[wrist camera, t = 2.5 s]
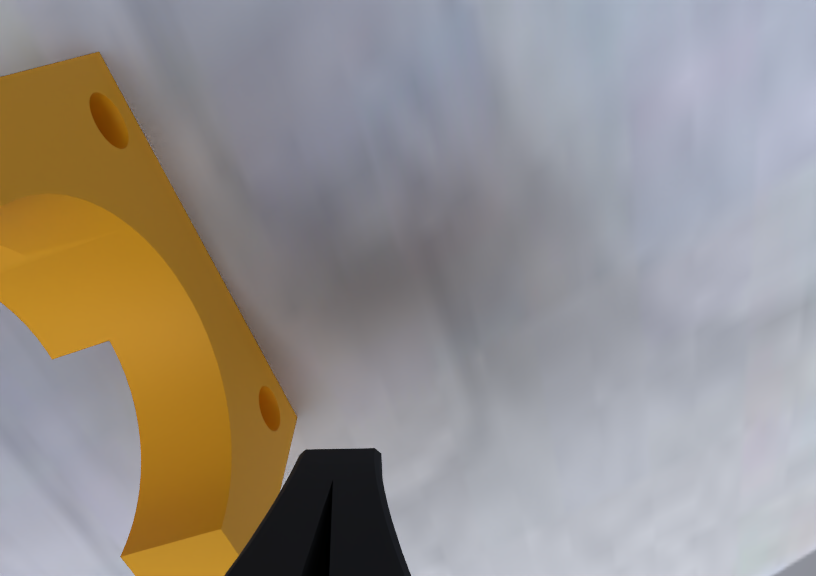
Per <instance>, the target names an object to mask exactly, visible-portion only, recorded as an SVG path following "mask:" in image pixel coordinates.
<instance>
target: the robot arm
mask: <svg viewBox="0 0 816 576" xmlns="http://www.w3.org/2000/svg"><path fill="white" fill-rule="evenodd" d="M224 576H411V574H410V572H409V569H408V567H407V564H406V561H405V558H404V556H403V553H402V550H401V547H400V544H399V541H398V538H397V535H396V532H395V528H394V525H393V522H392V519H391V515H390V512H389V508H388V504H387V499H386V495H385V491H384V485H383V479H382V460H381V453H380V452H379V451H377V450H376V449H375V448H368V449H312V450H305V451H304V452H303V453H301V454H300V456H299V458H298V460H297V462H296V464H295V466H294V468H293V469H292V471H291V473H290V475H289V477H288V479H287V481H286V482H285V484H284V486H283V488H282V489H281V491H280V493H279V494H278V496H277V498H276V499H275V501H274V503H273V504H272V506H271V508H270V509H269V511H268V513H267V514H266V516H265V517H264V519H263V520H262V522H261V523H260V525H259V526H258V528H257V529H256V531H255V532H254V534H253V536H252V537H251V539H250V540H249V542H248V543H247V545H246V546H245V548H244V549H243V550H242V552H241V553H240V555H239V556H238V557H237V559H236V560H235V562H234V563H233V564H232V566H231V567H230V568H229V570H228V571H227V572H226V574H225V575H224Z"/></svg>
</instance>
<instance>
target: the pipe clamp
mask: <svg viewBox="0 0 816 576" xmlns="http://www.w3.org/2000/svg"><path fill="white" fill-rule="evenodd" d="M0 302H1V303H2V304H4V305H5V306H6V307H7V308H8V309H10V310H11V311H12V312H13V313H14V314H15V315H16V316H17V317H18V318H19V319H20V320H21V321H22V322H23V323H24V324H26V325H27V327H28V328H29V329H30V330H31V331H32V332H33V334H34V335H35V336H36V337H37V338H38V340H39V341H40V342H41V344H42V345H43V347H44V348H45V349H46V351H47V352H48V354H49V355H50V357H51V358H52V359H55V358H58V357H61V356H64V355H67V354H70V353H73V352H76V351H79V350H82V349H85V348H88V347H91V346H94V345H97V344H100V343H103V342H106V341H110V343H111V344H112V346H113V348H114V350H115V352H116V354H117V356H118V359H119V361H120V363H121V365H122V368H123V370H124V373H125V375H126V378H127V381H128V384H129V387H130V390H131V393H132V397H133V401H134V405H135V409H136V415H137V420H138V426H139V434H140V444H141V479H140V490H139V497H138V503H137V508H136V513H135V517H134V521H133V525H132V528H131V531H130V534H129V537H128V540H127V542H126V545H125V547H124V549H123V552H122V554H121V556H120V557H121V558H122V559H123V561H124V562H125V563H126V564H127V566H128V567H129V568H130V569H131V571H132V572H133V573H134V574H135V576H224V575H225V574H226V572H227V571H228V570H229V568H230V567H231V566H232V564H233V563H234V562H235V560H236V559H237V557H238V556H239V555H240V553H241V552H242V550H243V549H244V548H245V546H246V545H247V543H248V542H249V540H250V539H251V537H252V536H253V534H254V532H255V531H256V529H257V528H258V526H259V525H260V523H261V522H262V520H263V519H264V517H265V516H266V514H267V513H268V511H269V509H270V508H271V506H272V504H273V503H274V501H275V499H276V498H277V496H278V494H279V493H280V489H281V485H282V480H283V476H284V472H285V468H286V463H287V459H288V455H289V450H290V446H291V442H292V438H293V433H294V429H295V425H296V420H297V416H296V414H295V412H294V411H293V409H292V407H291V405H290V403H289V401H288V399H287V398H286V396H285V394H284V392H283V390H282V388H281V387H280V385H279V383H278V381H277V379H276V377H275V376H274V374H273V372H272V370H271V368H270V366H269V364H268V363H267V361H266V359H265V357H264V355H263V353H262V352H261V350H260V348H259V346H258V344H257V342H256V340H255V339H254V337H253V335H252V333H251V331H250V329H249V328H248V326H247V324H246V322H245V320H244V318H243V316H242V315H241V313H240V311H239V309H238V307H237V305H236V304H235V302H234V300H233V298H232V296H231V294H230V292H229V291H228V289H227V287H226V285H225V283H224V281H223V280H222V278H221V276H220V274H219V272H218V270H217V268H216V267H215V265H214V263H213V261H212V259H211V257H210V256H209V254H208V252H207V250H206V248H205V246H204V245H203V243H202V241H201V239H200V237H199V235H198V233H197V232H196V230H195V228H194V226H193V224H192V222H191V221H190V219H189V217H188V215H187V213H186V211H185V209H184V208H183V206H182V204H181V202H180V200H179V198H178V197H177V195H176V193H175V191H174V189H173V187H172V185H171V184H170V182H169V180H168V178H167V176H166V174H165V173H164V171H163V169H162V167H161V165H160V163H159V161H158V160H157V158H156V156H155V154H154V152H153V150H152V149H151V147H150V145H149V143H148V141H147V139H146V137H145V136H144V134H143V132H142V130H141V128H140V126H139V125H138V123H137V121H136V119H135V117H134V115H133V114H132V112H131V110H130V108H129V106H128V104H127V102H126V101H125V99H124V97H123V95H122V93H121V91H120V90H119V88H118V86H117V84H116V82H115V80H114V78H113V77H112V75H111V73H110V71H109V69H108V67H107V66H106V64H105V62H104V60H103V58H102V56H101V54H100V53H99V52H96V53H92V54H88V55H84V56H80V57H76V58H72V59H68V60H65V61H61V62H57V63H53V64H49V65H45V66H41V67H37V68H33V69H29V70H26V71H22V72H18V73H14V74H10V75H6V76H2V77H0Z"/></svg>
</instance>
